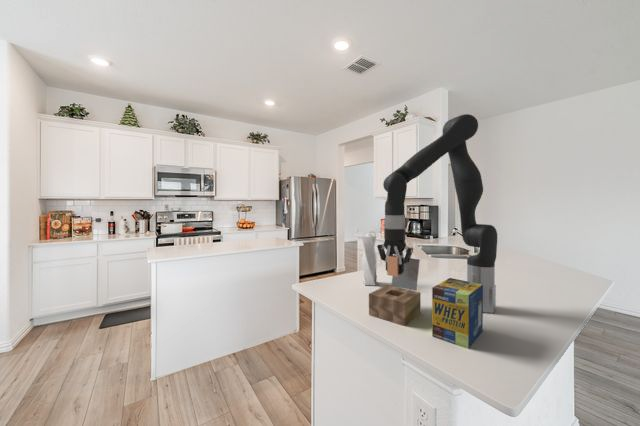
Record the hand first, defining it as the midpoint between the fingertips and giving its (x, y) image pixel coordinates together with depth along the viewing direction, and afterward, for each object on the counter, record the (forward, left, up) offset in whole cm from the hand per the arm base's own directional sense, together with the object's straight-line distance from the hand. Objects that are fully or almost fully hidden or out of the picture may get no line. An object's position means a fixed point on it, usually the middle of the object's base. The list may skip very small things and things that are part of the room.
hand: (394, 272), depth 98 cm
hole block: (0, 0, -16) cm, 16 cm away
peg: (0, 0, -1) cm, 1 cm away
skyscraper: (+27, -27, -16) cm, 41 cm away
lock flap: (0, -9, -2) cm, 9 cm away
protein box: (-22, +1, -16) cm, 27 cm away
